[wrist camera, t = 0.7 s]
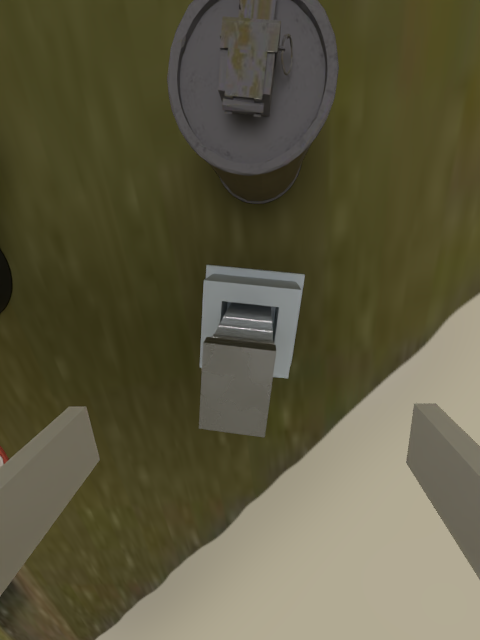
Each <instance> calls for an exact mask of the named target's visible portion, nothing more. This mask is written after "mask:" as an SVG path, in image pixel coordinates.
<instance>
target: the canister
mask: <svg viewBox="0 0 480 640" xmlns="http://www.w3.org/2000/svg"><path fill="white" fill-rule="evenodd" d="M338 69H339V67H338V56H337V47H336V40H335V35H334V32H333V29H332V27H331V24H330V22H329V19H328V17H327V14H326V12H325V9H324V8H323V7H322V5H321V4H320V3H319V2H318V0H194V1H193V2H192V3H191V4H190V5H189V7H188V8H187V10H186V12H185V14H184V16H183V18H182V20H181V22H180V24H179V26H178V28H177V30H176V33H175V37H174V40H173V43H172V46H171V52H170V60H169V68H168V76H167V82H168V92H169V98H170V103H171V108H172V112H173V115H174V117H175V120H176V122H177V124H178V127H179V129H180V131H181V133H182V134H183V136H184V138H185V139H186V141H187V142H188V143H189V145H190V146H191V147H192V149H193V150H194V151H195V152H196V153H197V154H198V155H199V156H200V157H202V158H203V159H204V160H205V161H207V162H208V163H209V164H210V165H211V166H212V168H213V169H214V170H215V172H216V173H217V174H218V175H219V178H220V180H221V182H222V183H223V185H224V187H225V188H226V189H227V190H228V191H229V192H230V193H231V194H232V195H233V196H235V197H236V198H238V199H239V200H241V201H244V202H247V203H253V204H263V203H267V202H270V201H273V200H275V199H277V198H279V197H280V196H282V195H283V194H284V193H286V192H287V191H288V189H289V188H290V187H291V186H292V185H293V183H294V182H295V180H296V178H297V176H298V174H299V171H300V168H301V164H302V162H303V160H304V158H305V155H306V153H307V151H308V149H309V147H310V145H311V143H312V142H313V140H314V139H315V138H316V137H317V135H318V134H319V132H320V130H321V129H322V127H323V125H324V123H325V121H326V120H327V117H328V115H329V112H330V109H331V106H332V103H333V101H334V98H335V91H336V84H337V77H338Z"/></svg>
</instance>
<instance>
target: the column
mask: <svg viewBox="0 0 480 640" xmlns="http://www.w3.org/2000/svg"><path fill="white" fill-rule="evenodd" d="M275 358H276V345H275V344H274V341H273V329H272V316H271V306H263V305H254V304H244V303H235V302H231V304H230V306H229V308H228V310H227V311H226V313H225V315H224V316H223V319H222V321H221V323H219V325H218V328H217V330H216V332H215V334H213V336H212V337H206V339H205V341H204V342H203V357H202V377H201V397H200V416H199V429H207V430H214V431H221V432H229V433H236V434H244V435H251V436H258V437H265V431H266V424H267V417H268V409H269V402H270V394H271V387H272V380H273V372H274V365H275Z"/></svg>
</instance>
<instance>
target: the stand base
mask: <svg viewBox="0 0 480 640" xmlns="http://www.w3.org/2000/svg"><path fill="white" fill-rule="evenodd" d="M304 278H305V274H299V273H288V272H278V271H268V270H258V269H248V268H237V267H227V266H217V265H206V279H205V280H204V286H203V307H202V327H201V348H200V368H202V357H203V342H204V341H205V339H206V337H212V336H213V334H215V332H216V330H217V328H218V325H219V323H221V321H222V319H223V316H224V315H225V313H226V311H227V310H228V308H229V306H230V304H231V302H235V303H244V304H254V305H263V306H271V316H272V329H273V341H274V344H275V345H276V358H275V365H274V372H273V377H279V378H287V379H288V375H289V369H290V365H291V362H292V355H293V349H294V342H295V336H296V329H297V323H298V317H299V310H300V304H301V297H302V291H303V284H304Z"/></svg>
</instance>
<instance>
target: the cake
mask: <svg viewBox="0 0 480 640" xmlns="http://www.w3.org/2000/svg"><path fill="white" fill-rule="evenodd" d="M8 460H9V459H8V457H7V455H6V454H5V452H4V450H3V449H2V448H1V446H0V467H1V466H2V465H4V464H5V463H6V462H7V461H8Z"/></svg>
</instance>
